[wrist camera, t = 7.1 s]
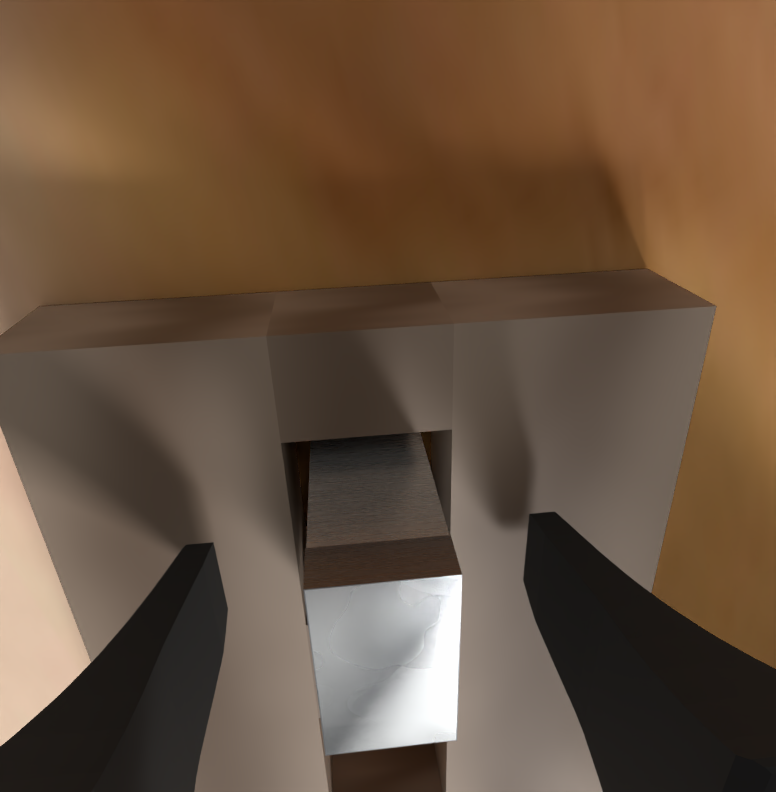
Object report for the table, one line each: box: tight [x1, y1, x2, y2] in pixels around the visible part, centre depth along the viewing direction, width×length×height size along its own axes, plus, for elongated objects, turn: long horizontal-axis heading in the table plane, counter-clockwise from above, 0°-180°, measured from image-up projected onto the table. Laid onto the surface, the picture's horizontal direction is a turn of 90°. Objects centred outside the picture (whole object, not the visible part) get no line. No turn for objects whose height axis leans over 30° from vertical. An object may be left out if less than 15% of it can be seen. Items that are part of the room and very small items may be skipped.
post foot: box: [0, 269, 716, 792], centre depth 18 cm, size 15×20×3 cm
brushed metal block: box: [303, 432, 462, 756], centre depth 14 cm, size 3×4×7 cm, turn 2°
